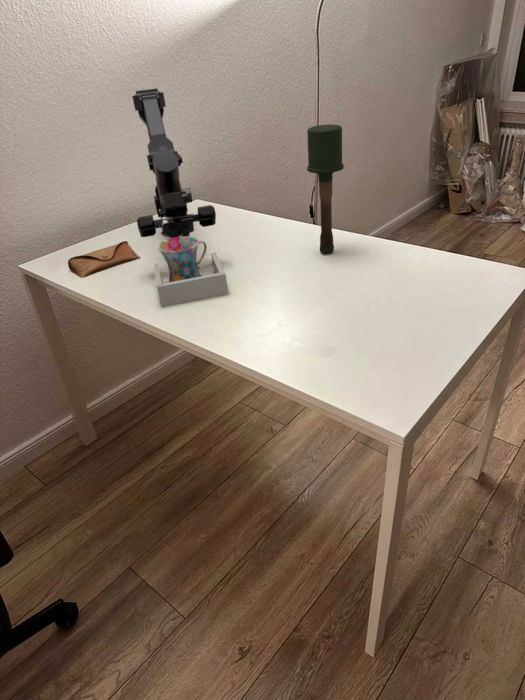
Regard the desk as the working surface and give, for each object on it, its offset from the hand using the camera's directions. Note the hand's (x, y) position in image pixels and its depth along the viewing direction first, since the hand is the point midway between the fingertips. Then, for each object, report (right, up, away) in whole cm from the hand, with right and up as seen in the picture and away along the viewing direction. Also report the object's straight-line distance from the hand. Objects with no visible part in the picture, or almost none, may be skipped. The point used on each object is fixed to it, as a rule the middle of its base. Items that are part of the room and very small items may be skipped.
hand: (184, 253), depth 118 cm
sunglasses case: (-24, 0, +17) cm, 29 cm away
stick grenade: (+36, +2, +9) cm, 37 cm away
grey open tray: (+2, -8, -1) cm, 9 cm away
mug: (+2, -7, +1) cm, 8 cm away
